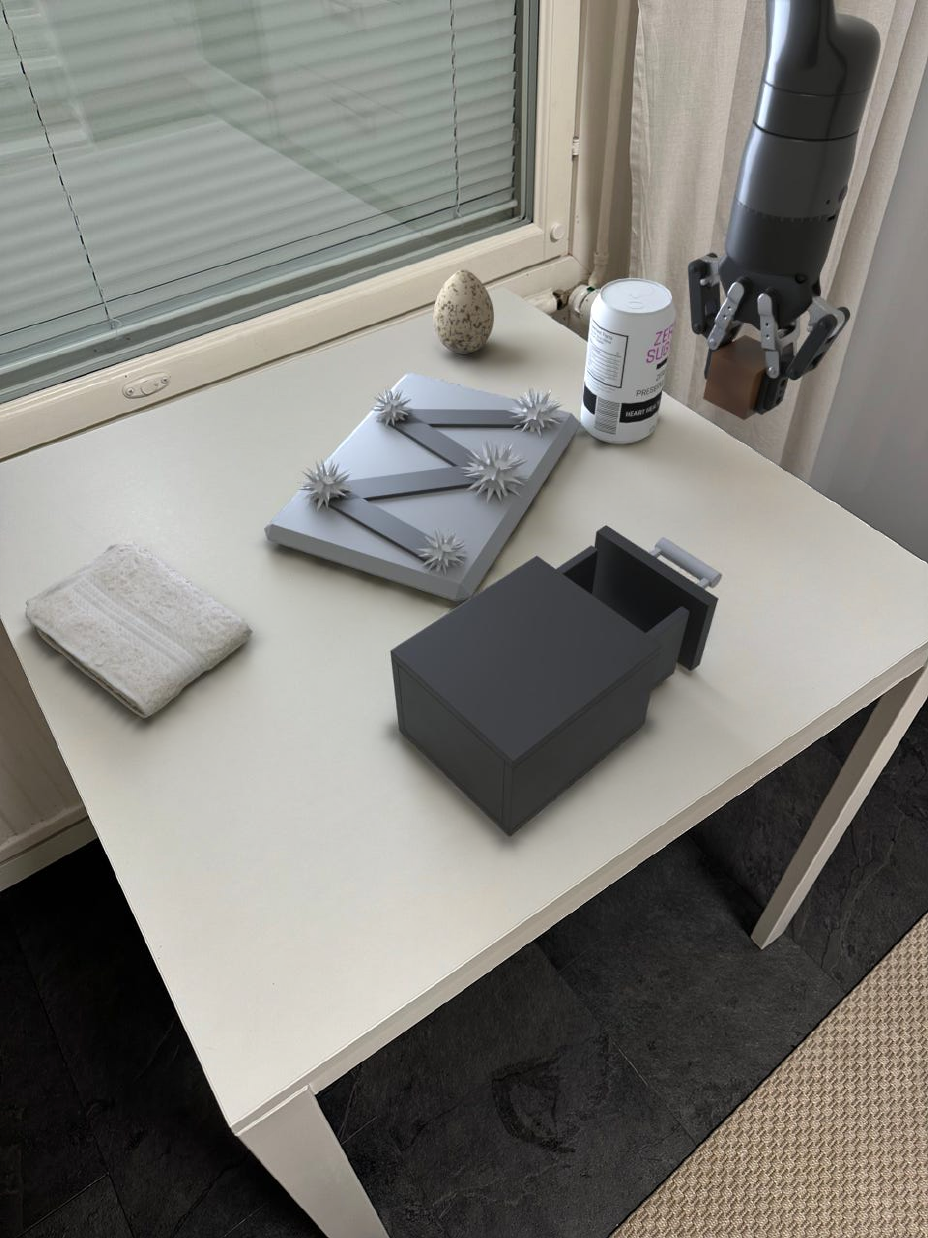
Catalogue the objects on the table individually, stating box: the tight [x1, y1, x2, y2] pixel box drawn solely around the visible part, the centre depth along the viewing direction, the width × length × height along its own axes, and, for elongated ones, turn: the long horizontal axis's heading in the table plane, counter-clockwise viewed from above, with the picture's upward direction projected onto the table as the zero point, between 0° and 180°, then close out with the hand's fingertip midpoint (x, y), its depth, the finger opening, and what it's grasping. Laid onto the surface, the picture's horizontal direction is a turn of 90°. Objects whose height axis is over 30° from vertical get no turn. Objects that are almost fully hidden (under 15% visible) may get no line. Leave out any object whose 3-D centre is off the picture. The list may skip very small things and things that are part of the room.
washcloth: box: [24, 540, 253, 719], centre depth 76 cm, size 12×18×3 cm, turn 52°
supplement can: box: [580, 277, 677, 445], centre depth 92 cm, size 8×8×15 cm
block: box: [702, 334, 766, 421], centre depth 75 cm, size 4×4×4 cm
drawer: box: [555, 524, 723, 692], centre depth 71 cm, size 18×11×8 cm, turn 132°
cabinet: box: [389, 555, 662, 837], centre depth 66 cm, size 15×13×10 cm
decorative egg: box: [432, 269, 495, 355], centre depth 104 cm, size 7×7×10 cm
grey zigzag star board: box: [263, 372, 581, 603], centre depth 88 cm, size 30×22×7 cm
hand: (740, 396), depth 76 cm, fingers closed on block, 4 cm apart
